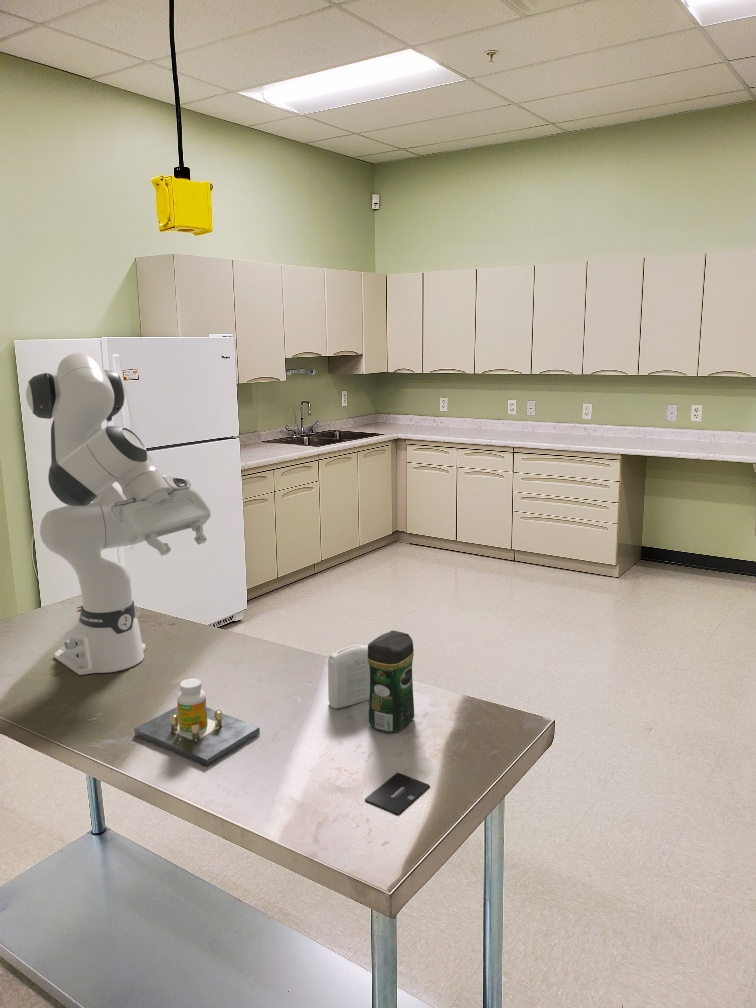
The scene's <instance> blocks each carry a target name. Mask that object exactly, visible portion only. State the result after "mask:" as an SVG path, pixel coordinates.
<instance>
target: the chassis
mask: <svg viewBox="0 0 756 1008" xmlns="http://www.w3.org/2000/svg"><path fill="white" fill-rule="evenodd" d="M206 708H207V724H208V726H207V729H206V730H205V731H203V732H202V733H200V732H199V723H193V724H192V725H191V726H192V735H186V734H183V733H181V731H180V729H179V717H178V705H177V706H176V707H174V708H171V709H169V710H168V711H165V712H164V713H162V714H160V715H158V716H155V717H154V718H153V719H150V720H148V721H146V722H145V723H142V724H141V725H138V726H137V727H135V728H133V729H134V737H137V738H140V739H141V740H143V741H146V742H149V743H151V744H153V745H155V746H158V747H160V748H161V749H162V748H163V749H165V750H167V751H169V752H171V753H173V754H176V755H178V756H181V757H183V758H185V759H188V760H190V761H192V762H194V763H197V764H199V765H202V766H204V767H206V768H208V767H210V766H211V765H213V764H214V763H216V762H217V761H219V760H221V759H222V758H224V757H225V756H228V754H230V753H232V752H233V751H236V750H237V749H238V748H240V747H242V746H244V745H245V744H247V743H248V742H249V741H251V740H253V739H254V738H256V737H258V736H259V735H260V733H261V731H260V730H261V729H260V726H258V725H255V724H252V723H249V722H247V721H244V720H242V719H239V718H236V717H234V716H230V715H228V714H225V713H223V712H222V710H221V709H217V710H215V709H212V708H209V707H207V706H206Z"/></svg>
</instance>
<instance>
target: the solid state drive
mask: <svg viewBox="0 0 756 1008" xmlns="http://www.w3.org/2000/svg"><path fill="white" fill-rule="evenodd" d="M430 787H431V785H430V784H429V783H426V782H424V781H420V780H419V779H415V778H413V777H412V776H411V777H410V776H408V775H406V774H403V773H400V772H396V773H395V774H394V775H392V776H391V777H390V778H389V779H387V780H386V781H385V782H384V783H382V784H381V785H380V786H379V787H378V788H376V789H375V790H374V791H372V792H371V793H370V794H369V795H368V796H366V797H365V799H364V801H365V802H366V803H368V804H370V805H373V806H375V807H377V808H380V809H382V810H385V811H387V812H388V813H389V812H390V813H391V814H393V815H396V816H400V815H401V814H402V813H403V812H405V810H406V809H408V808H409V807H410V806H411V805H412V804H413V803H414V802H415V801H417V800H418V799H419V798H420V797H421V796H422V795H423V794H425V792H427V790H429V789H430Z"/></svg>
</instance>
